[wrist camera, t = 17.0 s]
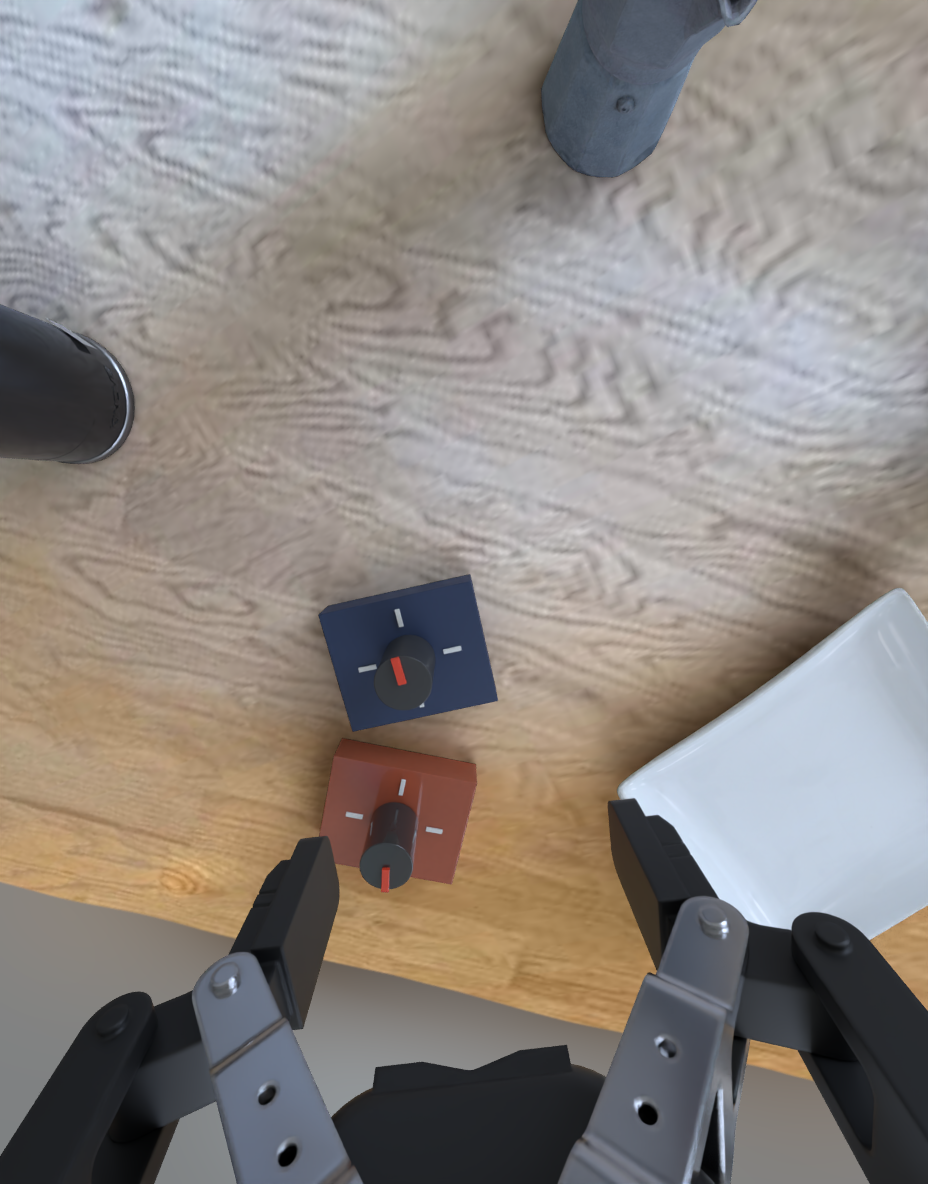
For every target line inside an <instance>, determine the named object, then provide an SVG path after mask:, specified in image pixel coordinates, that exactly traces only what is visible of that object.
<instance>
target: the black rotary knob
mask: <svg viewBox="0 0 928 1184" xmlns="http://www.w3.org/2000/svg"><path fill="white" fill-rule="evenodd" d="M434 668H435V653H434V650H433V648H432V647H431V645H430V644H429V643H428V642H427V641H426V640H425V639H423V638H421V637H419V636H416V635H403V636H400V637H398V638H396V639H394V640H393V641H392V642H391V643H390V644H389V645H388V647H387V648H386V650H385V653H384V655H383V657H382V659H381V662H380V664H379V666H378V669H377V671H376V673H375V676H374V688H375V691H376V694H377V696H378V697H379V699H380V700H381V701H382V702H383V703H384V704H385V705H387V706H389V707H391V708H393V709H396V710H411V709H414V708H416V707H418V706H420V705H422V704H423V703H424V702H425V701H426V700H427V698H428V697H429V695H430V693H431V690H432V683H433V676H434Z"/></svg>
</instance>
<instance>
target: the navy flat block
mask: <svg viewBox="0 0 928 1184" xmlns="http://www.w3.org/2000/svg"><path fill="white" fill-rule="evenodd" d="M318 616H319V619H320V622H321V626H322V629H323V633H324V636H325V639H326V643H327V646H328V650H329V653H330V656H331V660H332V663H333V667H334V670H335V674H336V677H337V680H338V684H339V687H340V691H341V694H342V697H343V701H344V704H345V708H346V711H347V714H348V718H349V721H350V725H351V728H352V731H353V732H354V731H358V730H363V729H368V728H372V727H377V726H382V725H387V724H391V723H396V722H401V721H405V720H410V719H415V718H419V717H424V716H429V715H433V714H438V713H443V712H448V711H452V710H457V709H462V708H466V707H471V706H476V705H480V704H485V703H490V702H495V701H498V698H497V693H496V687H495V682H494V678H493V674H492V669H491V665H490V660H489V656H488V651H487V647H486V642H485V638H484V633H483V629H482V625H481V620H480V616H479V611H478V607H477V602H476V598H475V593H474V589H473V584H472V580H471V576H470V574H469V575H464V576H460V577H455V578H451V579H446V580H442V581H437V582H433V583H428V584H424V585H419V586H415V587H410V588H406V589H401V590H397V591H392V592H388V593H383V594H379V595H374V596H370V597H365V598H361V599H356V600H352V601H347V602H343V603H338V604H334V605H329V606H327V607H326V608H325V609H324V610H323V611H322V612H321V613H320V614H319V615H318ZM403 635H416V636H419V637H421V638H423V639H425V640H426V641H427V642H428V643H429V644H430V645H431V647H432V648H433V650H434V653H435V668H434V676H433V683H432V690H431V693H430V695H429V697H428V698H427V700H426V701H425V702H424V703H423V704H422V705H420V706H418V707H416V708H414V709H411V710H396V709H393V708H391V707H389V706H387V705H385V704H384V703H383V702H382V701H381V700H380V699H379V697H378V696H377V694H376V691H375V688H374V676H375V673H376V671H377V669H378V666H379V664H380V662H381V659H382V657H383V655H384V653H385V650H386V648H387V647H388V645H389V644H390V643H391V642H392V641H393V640H394V639H396V638H398V637H400V636H403Z"/></svg>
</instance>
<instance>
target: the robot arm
mask: <svg viewBox="0 0 928 1184" xmlns="http://www.w3.org/2000/svg"><path fill="white" fill-rule="evenodd" d="M46 319H47V318H46ZM48 320H49V319H48ZM49 321H51V322H52V323H54V324H55V325H57V326H58V327H56V326H54V325H51V324H49V323H46V322H44V321H42V320H39V319H37V318H34V317H32V316H29V315H27V314H24V313H22V312H19V311H16V310H14V309H11V308H9V307H6V306H4V305H1V304H0V458H12V459H29V460H43V461H58V462H62V463H70V464H88V463H93V462H97V461H100V460H103V459H105V458H107V457H109V456H110V455H112V454H113V453H114V452H116V451H117V450H118V449H119V448H120V447H121V445H122V444H123V443H124V442H125V440H126V438H127V437H128V435H129V433H130V430H131V427H132V424H133V419H134V397H133V392H132V388H131V385H130V382H129V380H128V377H127V375H126V374H125V372H124V370H123V368H122V367H121V365H120V364H119V362H118V361H117V360H116V359H115V358H114V356H113V355H112V354H111V353H110V352H109V351H108V350H106V349H105V348H104V347H103V346H101V345H100V344H99V343H97V342H95V341H94V340H92V339H90V338H88V337H85V336H83V335H80V334H78V333H75V332H72V331H70V330H68V329H67V328H66V327H64V326H63V325H61V324H59V323H56V322H54V321H52V320H49ZM59 327H60V328H59ZM608 816H609V828H610V840H611V850H612V856H613V861H614V865H615V869H616V872H617V874H618V877H619V879H620V882H621V884H622V887H623V889H624V892H625V894H626V896H627V899H628V901H629V904H630V906H631V909H632V911H633V914H634V916H635V919H636V921H637V923H638V926H639V928H640V931H641V933H642V936H643V938H644V941H645V943H646V945H647V948H648V950H649V953H650V955H651V958H652V960H653V963H654V965H655V967H656V970H657V973H656V975H654V974H652V973H650V972H649V973H647V975H646V976H645V978H644V980H643V982H642V985H641V987H640V990H639V993H638V995H637V998H636V1000H635V1003H634V1006H633V1008H632V1011H631V1014H630V1016H629V1019H628V1021H627V1024H626V1027H625V1029H624V1032H623V1035H622V1037H621V1040H620V1042H619V1045H618V1048H617V1050H616V1053H615V1056H614V1058H613V1061H612V1064H611V1066H610V1069H609V1071H608V1074H607V1076H606V1077H605V1076H603V1075H602V1074H599V1073H597V1072H595V1071H593V1070H591V1069H588V1068H585V1067H582V1066H579V1065H574V1064H571V1063H570V1058H569V1053H568V1048H567V1045H562V1046H553V1047H545V1048H537V1049H528V1050H520V1051H517V1052H515V1053H513V1054H510V1055H508V1056H505V1057H503V1058H501V1059H498V1060H496V1061H494V1062H491V1063H489V1064H487V1065H484V1066H482V1067H480V1068H477V1069H474V1070H463V1069H458V1068H452V1067H447V1066H441V1065H437V1064H431V1063H426V1062H416V1063H409V1064H400V1065H391V1066H382V1067H376V1069H375V1075H374V1083H373V1088H371V1089H369V1090H367V1091H365V1092H363V1093H361V1094H360V1095H358V1096H356V1097H355V1098H353V1099H352V1100H351V1101H349V1102H348V1103H346V1104H345V1105H344V1106H343V1107H342V1108H340V1110H338V1111H337V1112H336V1113H335V1114H334V1115H333V1116H332V1117H330V1114H329V1112H328V1110H327V1108H326V1105H325V1103H324V1101H323V1099H322V1096H321V1094H320V1092H319V1089H318V1087H317V1085H316V1083H315V1080H314V1078H313V1076H312V1074H311V1072H310V1069H309V1067H308V1065H307V1062H306V1060H305V1058H304V1056H303V1054H302V1051H301V1049H300V1047H299V1044H298V1042H297V1040H296V1037H295V1035H294V1033H293V1031H292V1030H297V1029H303V1027H304V1023H305V1020H306V1017H307V1013H308V1010H309V1006H310V1003H311V999H312V995H313V992H314V989H315V985H316V982H317V978H318V974H319V971H320V968H321V964H322V961H323V957H324V954H325V950H326V947H327V943H328V940H329V936H330V933H331V929H332V926H333V922H334V919H335V915H336V912H337V908H338V904H339V880H338V876H337V871H336V866H335V862H334V857H333V852H332V848H331V843H330V840H329V838H328V836H320V837H312V838H304V839H300V840H299V842H298V844H297V846H296V848H295V850H294V852H293V855H292V857H291V859H290V860H283V861H281V862H280V863H279V864H278V865H277V866H276V867H275V868H274V869H273V870H272V871H271V872H270V873H269V874H268V875H267V877H266V879H265V881H264V883H263V885H262V887H261V889H260V891H259V895H257V897H256V899H255V901H254V904H253V908H251V910H250V912H249V914H248V916H247V918H246V920H245V922H244V924H243V926H242V928H241V930H240V932H239V934H238V936H237V938H236V940H235V942H234V945H233V947H232V949H231V951H230V953H229V955H228V956H225V957H223V958H221V959H219V960H218V961H217V962H215V963H214V964H212V965H211V966H210V967H209V968H208V969H207V970H206V971H205V972H204V973H203V974H202V975H201V976H200V978H199V979H198V981H197V982H196V984H195V986H194V989H193V990H192V991H190V992H188V993H186V994H184V995H181V996H179V997H176V998H174V999H171V1000H169V1001H166V1002H164V1003H162V1004H159V1005H157V1006H153V1003H152V1000H151V998H150V996H149V995H148V994H146V993H144V992H132V993H128V994H125V995H122V996H120V997H118V998H116V999H114V1000H112V1001H111V1002H109V1003H108V1004H106V1005H105V1006H103V1007H102V1008H101V1009H100V1010H98V1011H97V1012H96V1013H95V1014H94V1015H93V1016H92V1017H91V1018H90V1019H89V1020H88V1022H87V1023H86V1024H85V1025H84V1026H83V1028H82V1029H81V1031H80V1032H79V1034H78V1036H77V1037H76V1039H75V1040H74V1042H73V1043H72V1045H71V1046H70V1048H69V1050H68V1051H67V1053H66V1054H65V1056H64V1057H63V1059H62V1060H61V1062H60V1064H59V1065H58V1067H57V1068H56V1070H55V1072H54V1073H53V1075H52V1076H51V1078H50V1079H49V1081H48V1082H47V1084H46V1086H45V1087H44V1089H43V1090H42V1092H41V1093H40V1095H39V1097H38V1098H37V1100H36V1101H35V1103H34V1105H33V1106H32V1107H31V1109H30V1110H29V1112H28V1114H27V1115H26V1117H25V1118H24V1120H23V1121H22V1123H21V1124H20V1126H19V1128H18V1129H17V1131H16V1133H15V1134H14V1135H13V1137H12V1139H11V1140H10V1142H9V1143H8V1145H7V1146H6V1148H5V1149H4V1151H3V1153H2V1154H1V1156H0V1184H154V1183H155V1180H156V1177H157V1175H158V1173H159V1170H160V1167H161V1164H162V1162H163V1160H164V1157H165V1155H166V1152H167V1150H168V1147H169V1144H170V1142H171V1139H172V1137H173V1134H174V1132H175V1129H176V1127H177V1124H178V1122H179V1119H180V1118H181V1117H184V1116H186V1115H188V1114H190V1113H192V1112H194V1111H196V1110H199V1109H201V1108H203V1107H205V1106H207V1105H209V1104H211V1103H213V1102H215V1101H216V1102H217V1106H218V1110H219V1114H220V1118H221V1122H222V1126H223V1130H224V1134H225V1138H226V1142H227V1146H228V1150H229V1154H230V1157H231V1162H232V1166H233V1170H234V1174H235V1178H236V1182H237V1184H731V1177H732V1167H733V1158H734V1142H735V1130H736V1122H737V1116H738V1110H739V1104H740V1098H741V1092H742V1086H743V1080H744V1074H745V1068H746V1062H747V1057H748V1051H749V1045H750V1039H751V1040H756V1041H760V1042H765V1043H769V1044H773V1045H778V1046H782V1047H787V1048H791V1049H795V1050H798V1052H799V1054H800V1056H801V1057H802V1059H803V1061H804V1063H805V1065H806V1067H807V1069H808V1070H809V1072H810V1074H811V1076H812V1078H813V1080H814V1081H815V1083H816V1085H817V1087H818V1089H819V1091H820V1093H821V1094H822V1096H823V1098H824V1100H825V1102H826V1104H827V1106H828V1107H829V1109H830V1111H831V1113H832V1115H833V1117H834V1118H835V1120H836V1122H837V1124H838V1126H839V1128H840V1130H841V1131H842V1133H843V1135H844V1137H845V1139H846V1141H847V1143H848V1144H849V1146H850V1148H851V1150H852V1152H853V1154H854V1155H855V1157H856V1159H857V1161H858V1163H859V1165H860V1166H861V1168H862V1170H863V1172H864V1174H865V1176H866V1178H867V1180H868V1181H869V1183H870V1184H928V1011H927V1010H926V1008H925V1007H924V1006H923V1005H922V1004H921V1002H920V1001H919V1000H918V999H917V998H916V996H915V995H914V994H913V993H912V992H911V990H910V989H909V988H908V987H907V985H906V984H905V983H904V982H903V981H902V979H901V978H900V977H899V976H898V975H897V973H896V972H895V971H894V970H893V968H892V967H891V966H890V965H889V964H888V962H887V961H886V960H885V959H884V958H883V956H882V955H881V954H880V953H879V952H878V950H877V949H876V948H875V947H874V945H873V944H872V943H871V942H870V941H869V939H868V938H867V937H866V936H865V935H864V934H863V933H862V932H861V931H860V930H859V929H857V928H856V927H855V926H853V925H852V924H850V923H849V922H847V921H845V920H843V919H841V918H839V917H836V916H833V915H830V914H826V913H821V912H807V913H803V914H800V915H799V916H797V917H796V918H795V919H794V921H793V923H792V927H791V930H789V929H783V928H776V927H770V926H764V925H759V924H756V923H752V922H750V921H747V920H746V919H745V918H744V916H743V915H742V914H741V913H740V912H739V911H738V910H737V909H736V908H735V907H734V906H732V905H731V904H729V903H727V902H725V901H723V900H721V899H719V897H718V896H717V894H716V893H715V891H714V889H713V888H712V886H711V885H710V883H709V881H708V880H707V878H706V877H705V875H704V874H703V872H702V870H701V869H700V867H699V866H698V864H697V862H696V861H695V859H694V858H693V856H692V855H691V854H690V851H689V850H688V848H687V847H686V845H685V843H683V840H682V839H681V837H680V835H679V834H678V832H677V831H676V829H675V828H674V826H673V825H671V824H670V823H669V822H667V821H666V820H665V819H663V818H662V817H661V816H659V815H652V816H645V814H644V812H643V811H642V809H641V807H640V805H639V803H638V802H637V800H636V799H635V798H630V799H622V800H614V801H609V802H608Z"/></svg>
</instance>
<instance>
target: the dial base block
mask: <svg viewBox="0 0 928 1184" xmlns="http://www.w3.org/2000/svg"><path fill="white" fill-rule="evenodd" d="M476 786H477V775H476V764H472V763H467V762H462V761H457V760H452V759H447V758H441V757H436V756H431V755H426V754H421V753H416V752H411V751H405V750H400V749H395V748H390V747H385V746H380V745H374V744H369V743H364V742H359V741H354V740H349V739H343V738H342V739H341V741H340V743H339V746H338V748H337V750H336V752H335V754H334V757H333V762H332V768H331V773H330V779H329V784H328V790H327V795H326V801H325V806H324V812H323V817H322V822H321V828H320V833H319V837H320V836H328V838H329V840H330V843H331V848H332V852H333V857H334V862H335V864H341V865H346V866H352V867H358V868H360V867H359V864H360V859H361V855H362V851H363V847H364V843H365V839H366V836H367V832H368V828H369V824H370V820H371V817H372V814H373V813H374V811H375V810H376V809H377V808H378V807H380V806H381V805H383V804H385V803H389V802H399V803H403V804H405V805H407V806H409V807H410V808H411V809H412V810H413V811H414V812H415V814H416V816H417V818H418V831H417V840H416V848H415V856H414V865H413V871H412V874H411V876H410V877H413V878H419V879H424V880H430V881H435V882H441V883H446V884H452V882H453V878H454V874H455V870H456V866H457V862H458V858H459V854H460V850H461V846H462V842H463V838H464V834H465V830H466V826H467V822H468V818H469V814H470V810H471V806H472V802H473V798H474V794H475V790H476Z"/></svg>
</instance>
